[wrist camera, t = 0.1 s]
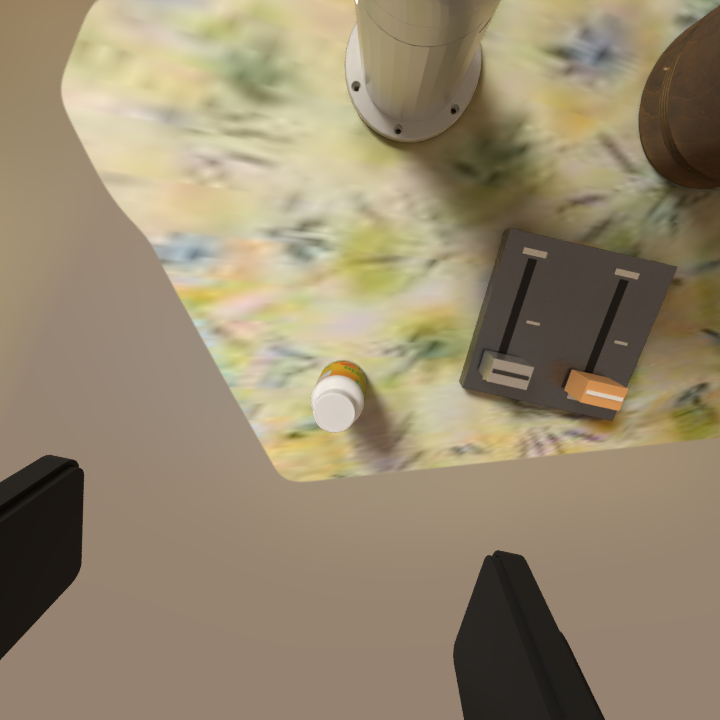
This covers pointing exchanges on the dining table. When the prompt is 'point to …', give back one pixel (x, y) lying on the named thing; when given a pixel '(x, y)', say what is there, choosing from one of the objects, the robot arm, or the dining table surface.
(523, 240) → the console
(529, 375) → the block
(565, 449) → the dining table surface
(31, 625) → the robot arm
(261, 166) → the dining table surface
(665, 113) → the wooden container
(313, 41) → the dining table surface
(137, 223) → the dining table surface
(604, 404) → the orange fader
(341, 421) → the supplement bottle
